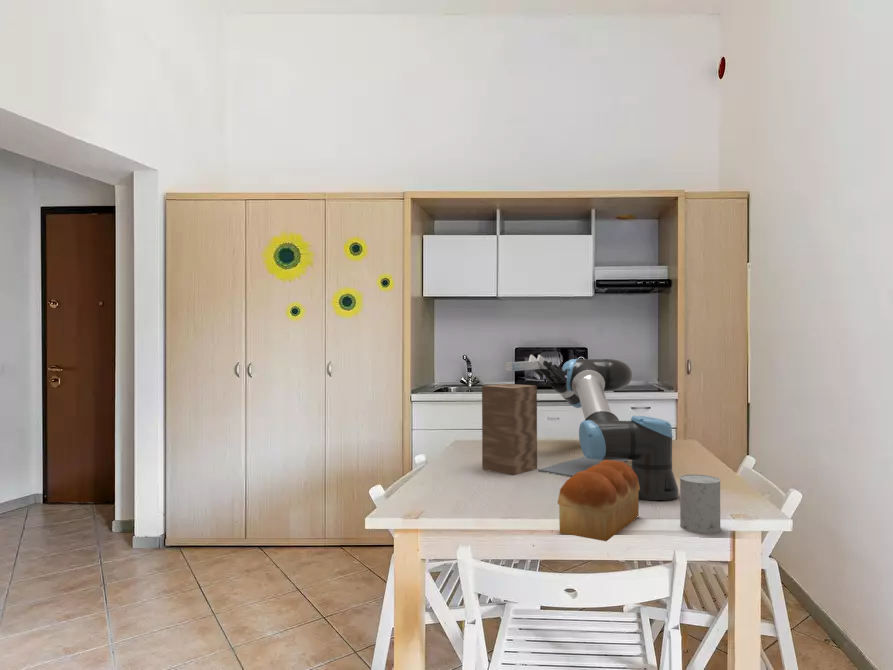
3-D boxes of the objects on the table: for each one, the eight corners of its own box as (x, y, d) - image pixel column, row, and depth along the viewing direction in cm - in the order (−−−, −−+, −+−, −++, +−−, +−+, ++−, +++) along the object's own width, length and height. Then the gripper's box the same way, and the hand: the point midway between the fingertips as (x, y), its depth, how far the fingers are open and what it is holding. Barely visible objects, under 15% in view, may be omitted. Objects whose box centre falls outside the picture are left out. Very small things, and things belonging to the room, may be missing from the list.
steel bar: (545, 367, 251) (545, 360, 251) (551, 368, 249) (551, 360, 249) (505, 370, 232) (505, 362, 232) (511, 371, 230) (511, 362, 230)
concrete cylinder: (682, 532, 156) (682, 482, 156) (677, 520, 165) (677, 473, 165) (724, 534, 153) (723, 484, 153) (717, 523, 163) (716, 475, 163)
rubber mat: (590, 456, 251) (590, 454, 251) (627, 461, 240) (627, 460, 240) (538, 471, 225) (538, 469, 225) (577, 478, 214) (577, 476, 214)
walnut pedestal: (506, 463, 238) (505, 383, 238) (537, 468, 228) (536, 385, 228) (482, 469, 228) (482, 386, 228) (513, 475, 218) (513, 388, 218)
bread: (606, 542, 148) (606, 479, 148) (557, 533, 156) (557, 473, 156) (640, 516, 169) (640, 461, 169) (595, 509, 176) (595, 456, 176)
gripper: (578, 394, 251) (549, 367, 236) (543, 392, 262) (514, 365, 247) (582, 377, 254) (554, 349, 239) (548, 375, 265) (520, 348, 250)
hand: (534, 357), depth 243 cm, fingers closed on steel bar, 3 cm apart
